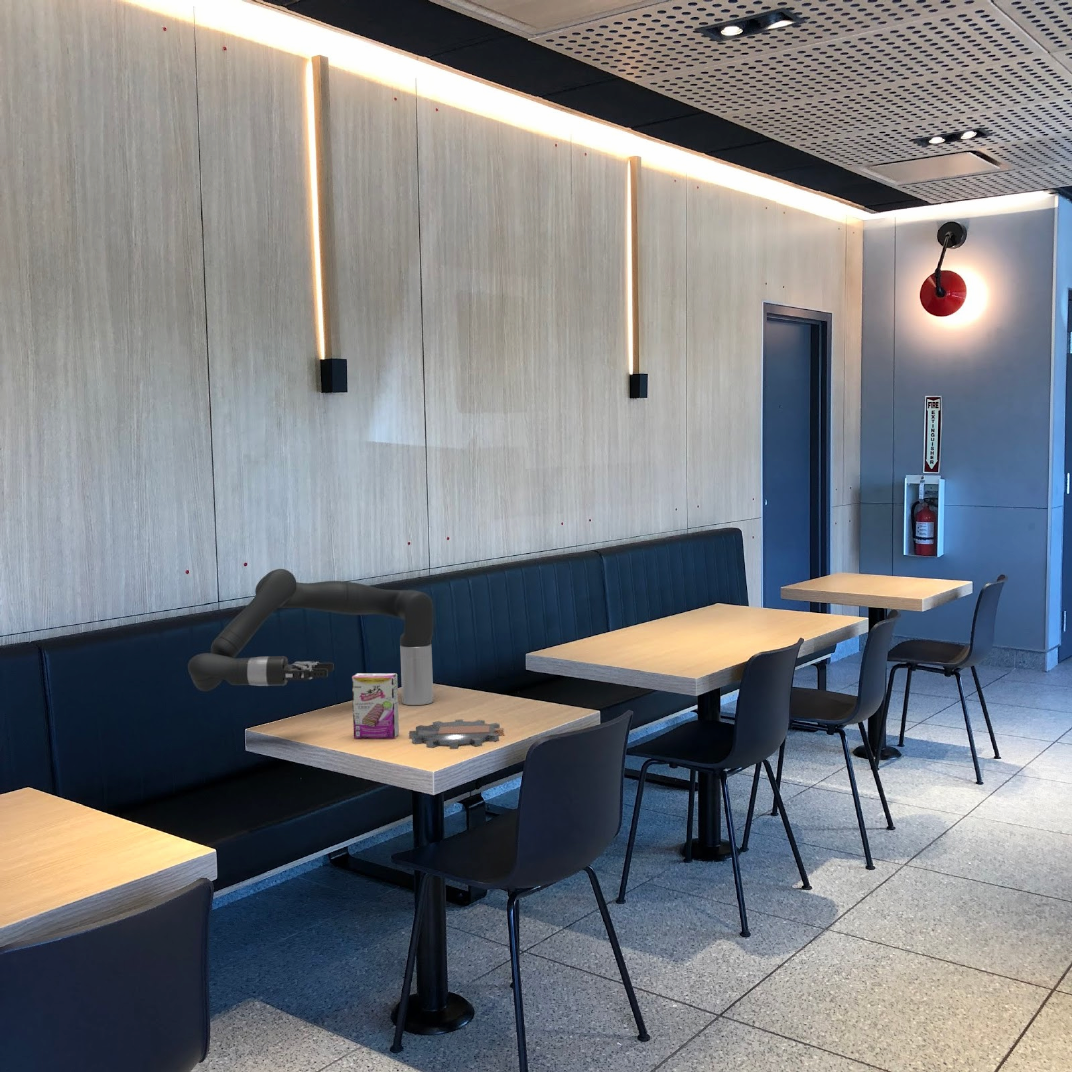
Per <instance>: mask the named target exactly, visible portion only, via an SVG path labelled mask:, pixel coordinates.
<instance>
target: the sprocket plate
mask: <svg viewBox="0 0 1072 1072" xmlns="http://www.w3.org/2000/svg"><path fill="white" fill-rule="evenodd" d="M485 721H486V720H483V719H477V720H475V721H472V720H471V721H470V720H469V721H465V720H464V719H460V718H459V719H455V720H454V721H445V722H443V721H440V720H438V721H432V724H430V725H423V724H420V725H419V724H418V726H415V730H409V731H408V739H409V740H410V739H411V743H412V744H414V745H418V744H426V748H432V749H434V748H436V747H439V746H440V747H449V749H459V747H460V746H461V747H462V746H473V747H479V746H483V743H485V742H492V741H494V742H497V741H496V740H498V741H499V740H500V736H499V735H505V733H504V732H505V730H504V729H505V728H504V727H501V726H500V725H501V724H500V723H497V722H493V723H486V722H485ZM487 740H488V741H487ZM494 742H493V743H494Z"/></svg>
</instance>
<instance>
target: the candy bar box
mask: <svg viewBox="0 0 1072 1072" xmlns="http://www.w3.org/2000/svg"><path fill="white" fill-rule="evenodd" d="M398 684H399V683H398V674H397V673H367V672H366V673H361V672H360V673H355V674H354V675H352V676H351V685H352V686H351V689H352V692H351V693H352V717H353V718H352V719H353V722H352V723H353V724H352V725H353V739H396V738H397V737H398V735H399V734H400V726H399V722H400V721H399V693H398V689H399V688H398V687H399V686H398Z"/></svg>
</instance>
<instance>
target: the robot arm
mask: <svg viewBox="0 0 1072 1072" xmlns="http://www.w3.org/2000/svg"><path fill="white" fill-rule="evenodd" d="M254 593H255V596H254V597H253V598H252V600H251V601H250V602H249V603H248V604H247V606H246V607H244V608H243V610H242V611H240V612H239V613H238V614H237V615H236V616H235V617H234V618H233V619H231V621H230V622H229V623H228V625H227V626H225V627H224V629H223V630H222V631H221V632H220V633H219V634H218V636H217V637H216V638H215V639H214V640H213V641H212V643H211V646H210V652H209V653H208V652H203V653H200V654H196V655H194V656H193V657H192V658H191V659H189V661H188V663H187V669H188V670H187V671H188V673H189V675H190V678H191V680H192V682H193V684H194V686H195V688H196V689H197V690H199V691H202V692H208V691H211V690H213V689H215V688H216V687H217V686H219V685H220V684H221V683H222V681H223V680H225V681H226V682H227V683H228V684H229V685H232V686H257V687H258V686H259V687H262V686H263V687H270V686H271V687H272V686H273V687H274V686H277V687H278V686H286V685H287V683H288V681H305V682H307V681H309V680H312V679H317V678H318V679H320V678H321V679H323V678H326V679H327V677H328V676H329V673H331V672H333V671H334V670H335V666H334V663H333V662H319V661H318V660H310V661H309V660H307V661H305V660H304V661H301V660H300V661H297V660H296V661H295V662H294V663H291V664H289V659H288V658H287V657H286V656H284V655H281V656H280V655H279V656H278V655H277V656H257V657H238V658H236V657H237V656H238V655H239V653H240V652H242V650H243V649H244V648H245V647H246V645H247V644H248V642H249V641H250V640H251V639H252V637H253V636H254V635H255V634H256V632H257V631H258V630H259V629H260V628H261V626H262V625H263V624H264V623H265V621H266V620H267V619H268V618H269V617H270V616H271V615H272V614H273V613H274V612H275V611H276V610H277V609H278V608H286V609H287V608H288V609H289V608H293V609H294V608H295V609H296V608H298V609H299V608H301V609H307V610H308V609H309V610H314V611H321V612H329V613H336V614H343V615H352V616H365V615H383V616H389V617H393V618H397V619H401V620H404V629H403V630H404V631H403V633H402V634H401V635H400V638H399V645H400V646H399V648H400V649H399V650H400V672H401V673H400V677H401V678H400V679H401V703H402V704H403V705H406V706H422V705H428V704H431V703H433V702H434V683H433V681H434V680H433V678H434V677H433V654H432V653H433V652H432V651H433V650H432V638H433V635H434V625H435V624H434V623H435V622H434V621H435V620H434V615H435V613H434V605H433V600H432V598H431V597H430V595H429V594H427V593H425V592H423V591H420V590H419V591H418V590H414V589H412V590H411V589H407V590H406V589H403V590H400V589H399V590H397V589H382V588H378V587H375V586H370V585H368V584H363V583H358V582H353V581H346V580H344V581H343V580H342V581H341V580H327V581H320V582H319V581H318V582H298V581H297V580H296V577H295V576H294V574H293V573H292V572H291V571H290V570H287V569H286V568H285V569H284V568H277V569H274V570H271V571H269V572H268V573H266V574H265V576H263V577H262V578H261V579H260V580H259V581H258V583H257V584H256V586H255V590H254Z"/></svg>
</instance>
